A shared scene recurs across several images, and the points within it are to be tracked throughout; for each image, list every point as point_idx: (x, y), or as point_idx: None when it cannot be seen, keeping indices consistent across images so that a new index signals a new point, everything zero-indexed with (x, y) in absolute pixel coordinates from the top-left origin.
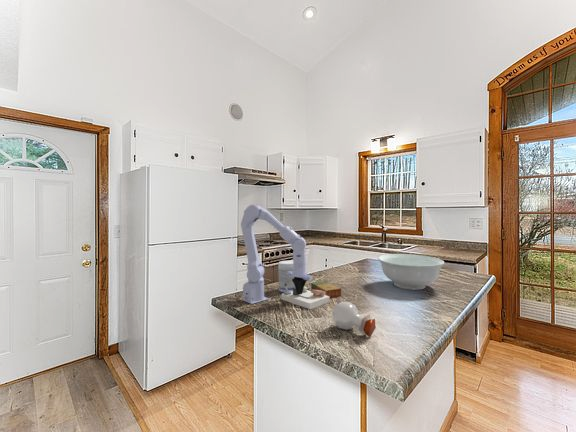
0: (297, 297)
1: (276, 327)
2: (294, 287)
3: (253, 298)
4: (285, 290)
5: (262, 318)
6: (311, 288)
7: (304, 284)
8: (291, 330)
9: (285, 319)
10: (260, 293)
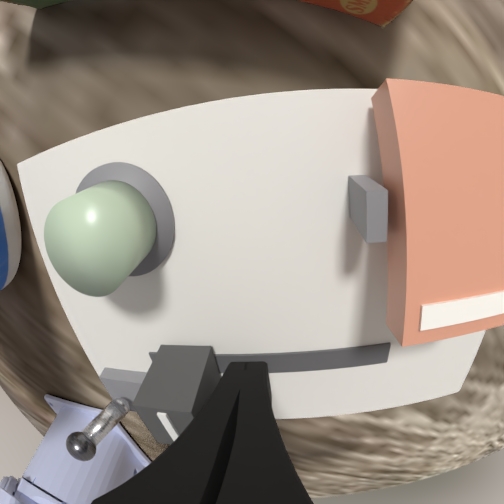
0: (279, 398)
1: (406, 482)
2: (152, 429)
3: (133, 472)
4: (8, 280)
5: (319, 493)
6: (32, 6)
7: (294, 473)
8: (455, 462)
9: (397, 464)
10: (115, 471)
